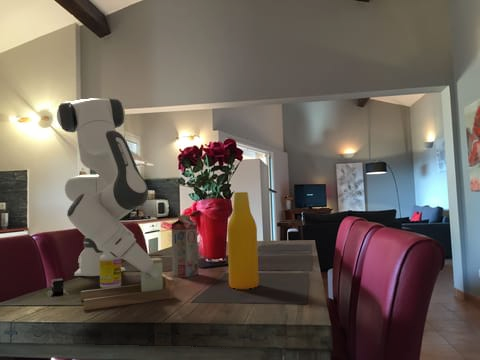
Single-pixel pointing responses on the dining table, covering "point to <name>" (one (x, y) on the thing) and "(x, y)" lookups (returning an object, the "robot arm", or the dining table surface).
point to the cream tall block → (148, 281)
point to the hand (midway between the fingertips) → (153, 274)
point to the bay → (125, 295)
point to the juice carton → (184, 247)
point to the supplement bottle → (110, 272)
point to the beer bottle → (242, 245)
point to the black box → (57, 288)
